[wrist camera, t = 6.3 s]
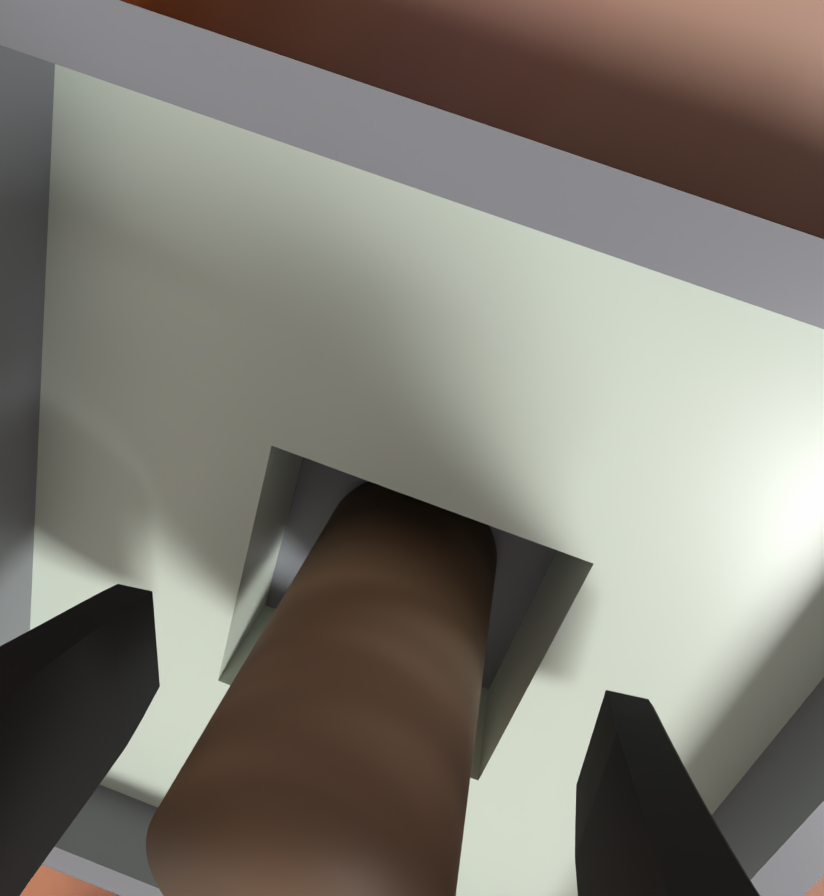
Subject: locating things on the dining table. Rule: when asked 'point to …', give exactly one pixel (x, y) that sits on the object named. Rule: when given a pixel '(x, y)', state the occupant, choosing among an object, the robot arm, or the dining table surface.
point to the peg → (344, 720)
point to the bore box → (406, 419)
